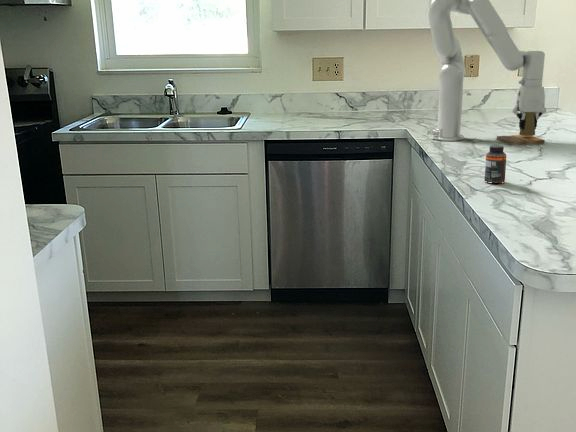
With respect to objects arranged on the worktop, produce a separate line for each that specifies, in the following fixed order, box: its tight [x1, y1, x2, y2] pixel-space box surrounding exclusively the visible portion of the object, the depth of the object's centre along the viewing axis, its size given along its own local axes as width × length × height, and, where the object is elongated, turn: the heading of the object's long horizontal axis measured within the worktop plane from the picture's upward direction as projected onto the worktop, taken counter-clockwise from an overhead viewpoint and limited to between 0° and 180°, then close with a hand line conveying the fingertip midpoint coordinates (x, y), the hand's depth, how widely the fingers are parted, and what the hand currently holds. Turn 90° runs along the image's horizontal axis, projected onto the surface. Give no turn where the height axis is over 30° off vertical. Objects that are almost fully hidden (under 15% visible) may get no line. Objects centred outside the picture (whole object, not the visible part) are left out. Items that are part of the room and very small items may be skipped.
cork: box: [518, 112, 536, 137], centre depth 251 cm, size 6×6×11 cm
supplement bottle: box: [484, 144, 507, 184], centre depth 190 cm, size 6×6×11 cm
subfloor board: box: [496, 134, 546, 146], centre depth 253 cm, size 14×13×2 cm
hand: (527, 128), depth 252 cm, fingers closed on cork, 4 cm apart
